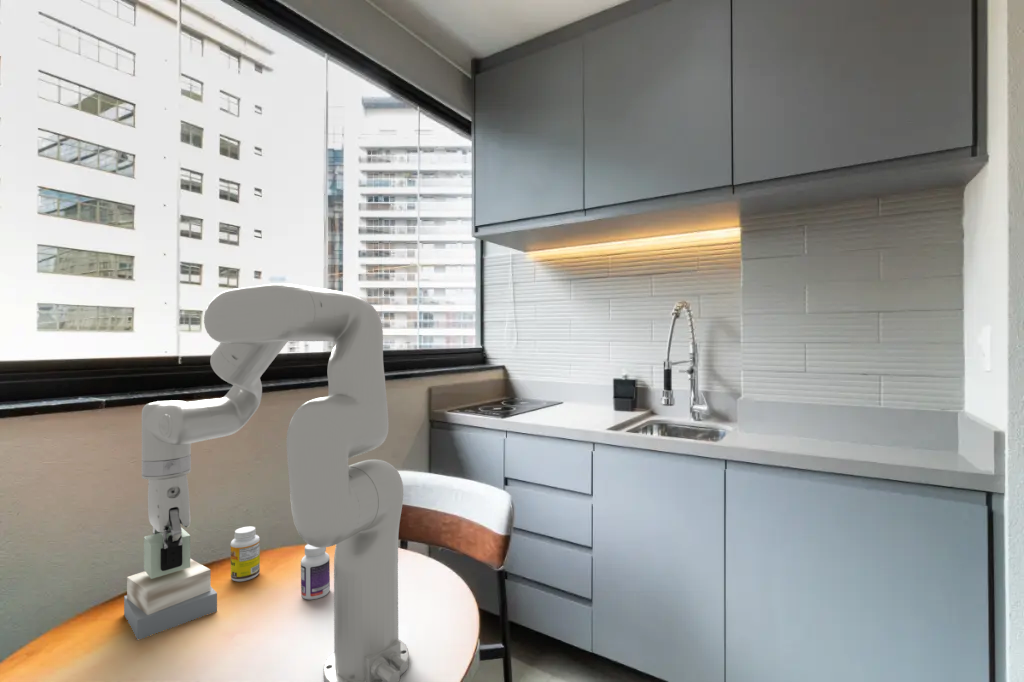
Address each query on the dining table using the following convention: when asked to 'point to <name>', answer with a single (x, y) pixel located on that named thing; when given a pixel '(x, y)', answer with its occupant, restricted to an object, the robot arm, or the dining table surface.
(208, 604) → the base block
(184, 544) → the sage block
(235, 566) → the supplement bottle
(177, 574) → the top block
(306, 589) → the pill bottle
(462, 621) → the dining table surface
